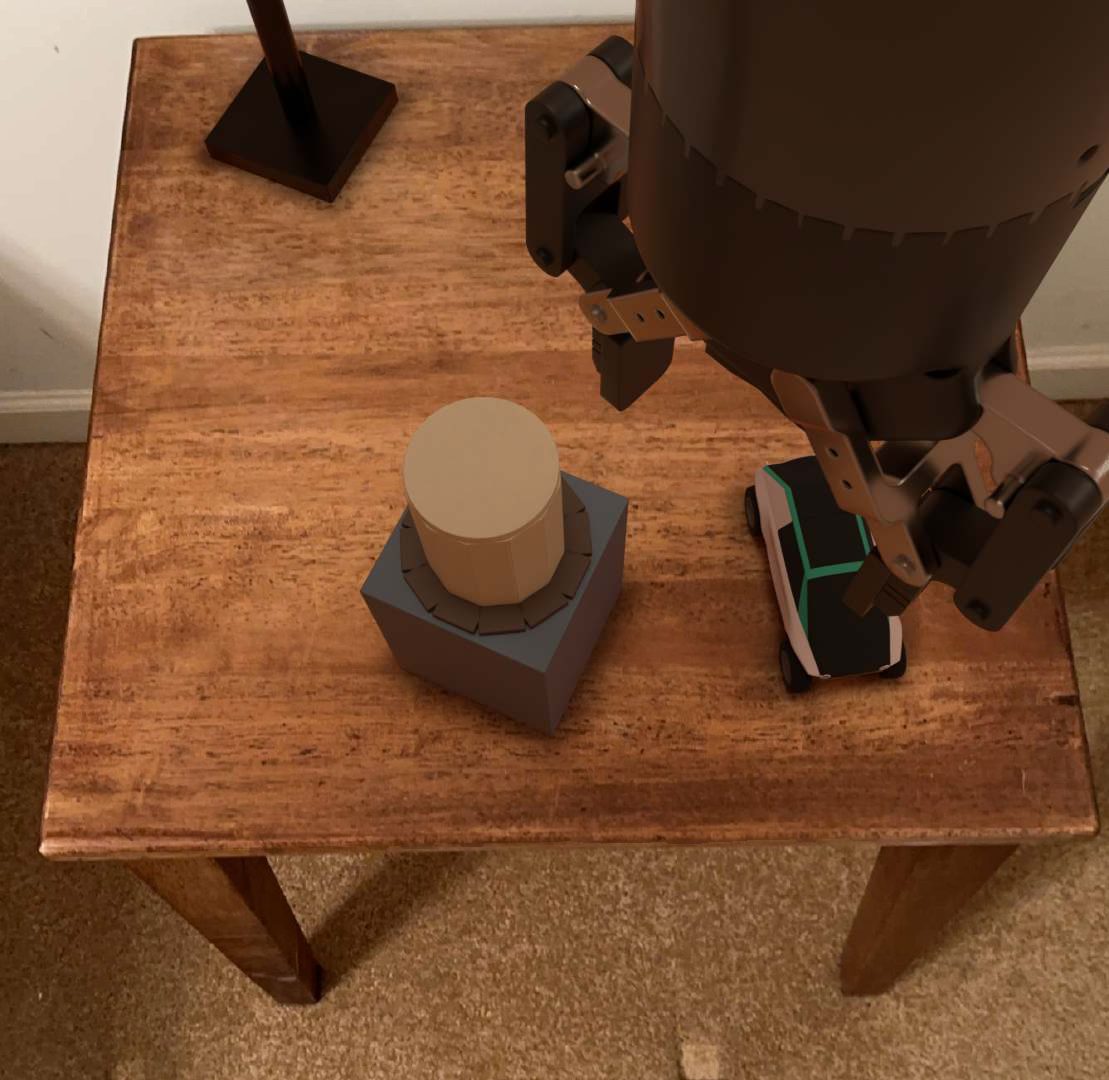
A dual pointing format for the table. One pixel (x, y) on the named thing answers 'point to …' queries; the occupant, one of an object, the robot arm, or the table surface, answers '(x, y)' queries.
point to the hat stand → (299, 113)
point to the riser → (512, 658)
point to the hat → (490, 519)
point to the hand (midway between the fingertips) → (751, 481)
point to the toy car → (819, 577)
